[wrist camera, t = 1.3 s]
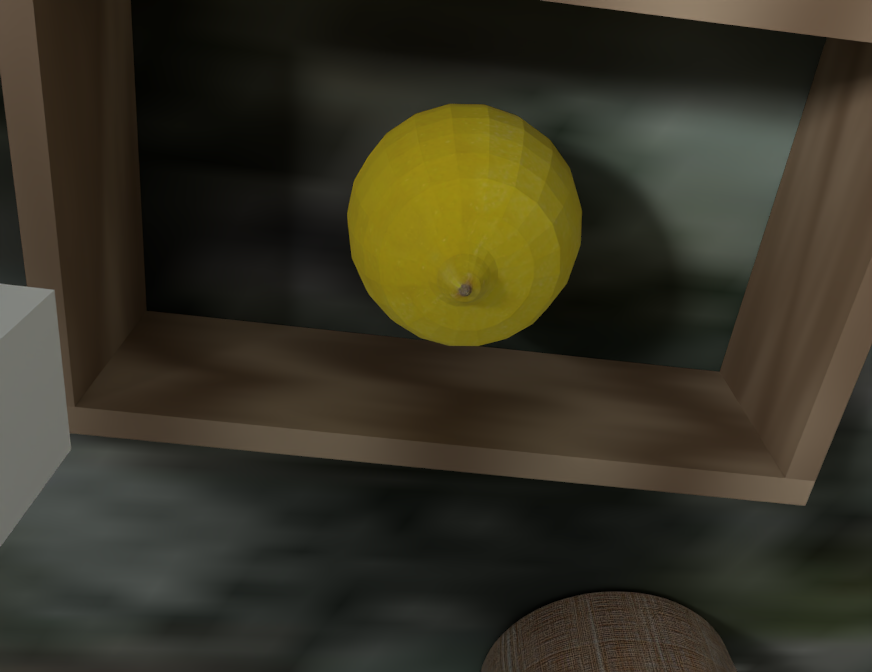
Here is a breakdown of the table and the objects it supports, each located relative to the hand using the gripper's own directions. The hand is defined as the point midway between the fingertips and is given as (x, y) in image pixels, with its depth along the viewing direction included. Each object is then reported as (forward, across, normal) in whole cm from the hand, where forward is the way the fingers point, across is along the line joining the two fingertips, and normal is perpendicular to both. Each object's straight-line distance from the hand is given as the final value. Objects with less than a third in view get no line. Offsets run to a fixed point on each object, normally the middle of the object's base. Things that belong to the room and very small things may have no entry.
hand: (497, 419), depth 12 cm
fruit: (+12, 0, 0) cm, 12 cm away
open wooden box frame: (+12, 0, 0) cm, 12 cm away
